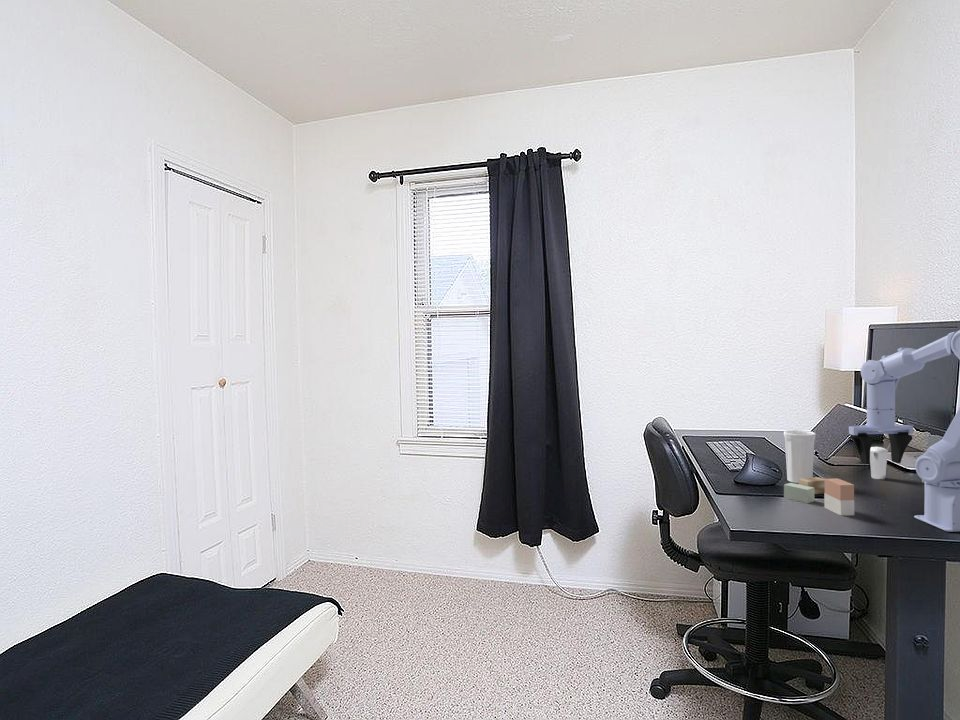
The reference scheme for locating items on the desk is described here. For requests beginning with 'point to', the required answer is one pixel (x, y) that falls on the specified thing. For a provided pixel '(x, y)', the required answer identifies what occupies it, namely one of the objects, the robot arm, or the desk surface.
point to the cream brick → (839, 505)
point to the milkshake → (878, 462)
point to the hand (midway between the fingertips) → (880, 462)
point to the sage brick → (799, 492)
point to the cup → (799, 454)
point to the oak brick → (814, 484)
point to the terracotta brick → (839, 489)
